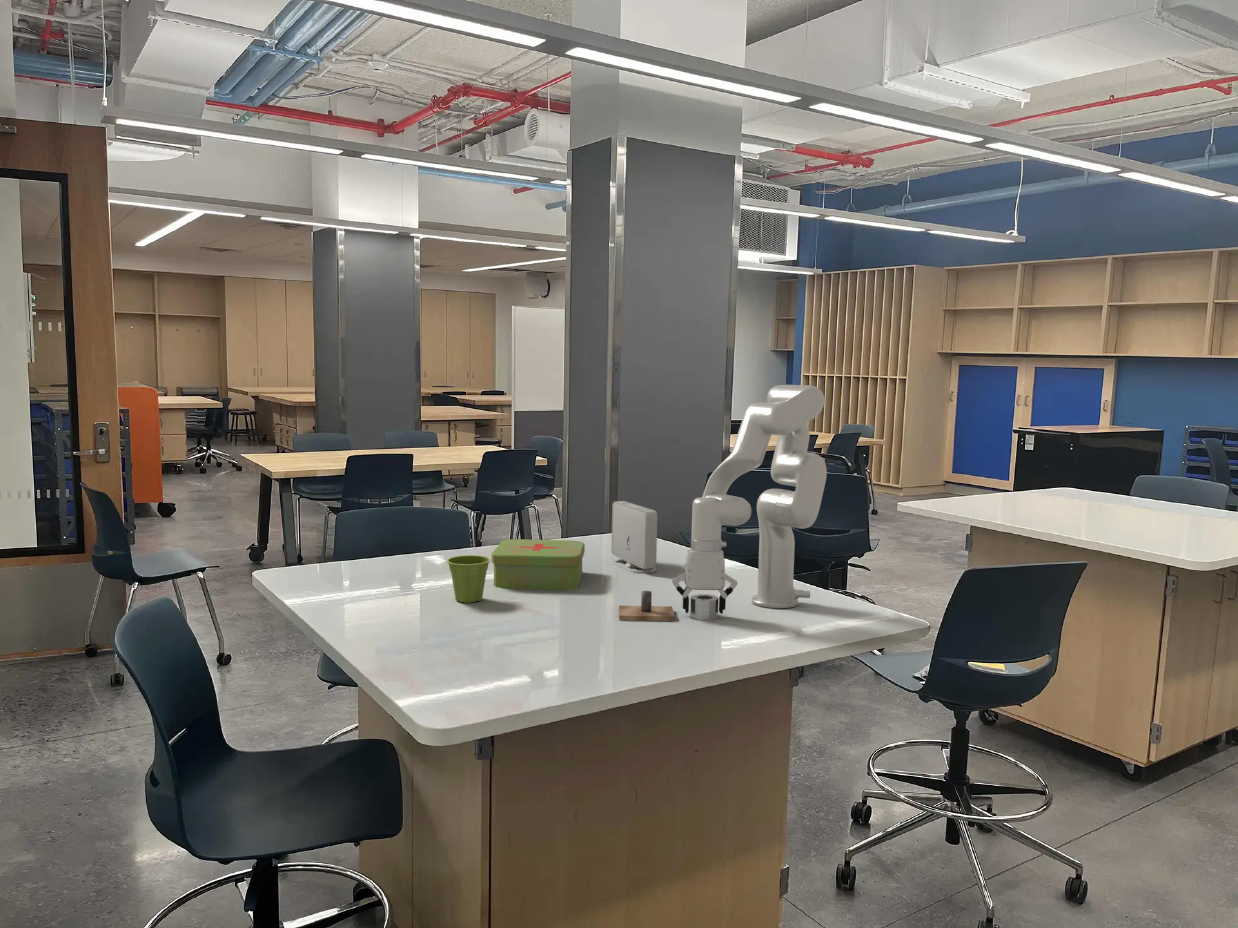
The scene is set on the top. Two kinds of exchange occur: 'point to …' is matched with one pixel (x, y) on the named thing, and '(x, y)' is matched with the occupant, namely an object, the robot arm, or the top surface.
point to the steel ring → (704, 607)
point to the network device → (634, 536)
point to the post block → (646, 611)
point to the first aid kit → (538, 564)
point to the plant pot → (468, 576)
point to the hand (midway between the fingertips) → (703, 611)
